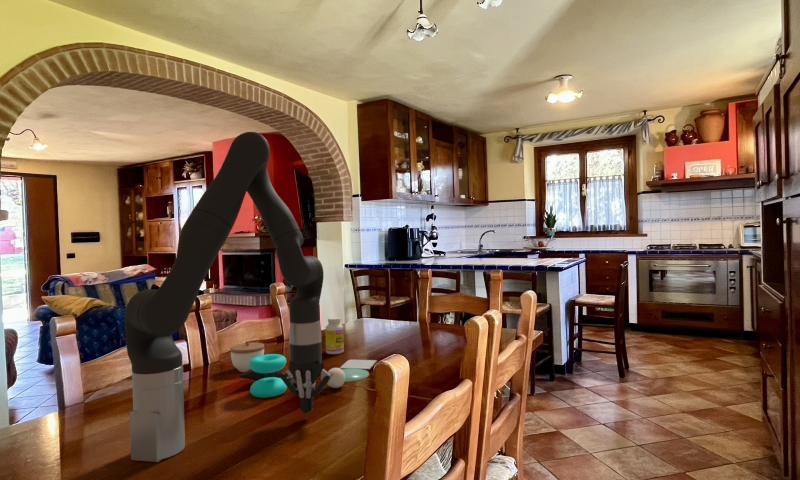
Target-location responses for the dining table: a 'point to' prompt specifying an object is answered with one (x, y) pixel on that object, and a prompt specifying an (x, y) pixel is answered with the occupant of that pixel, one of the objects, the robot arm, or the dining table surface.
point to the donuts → (271, 384)
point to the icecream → (259, 375)
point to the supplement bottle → (334, 336)
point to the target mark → (355, 374)
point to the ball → (336, 378)
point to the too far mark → (358, 364)
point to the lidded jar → (245, 354)
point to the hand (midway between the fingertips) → (307, 412)
